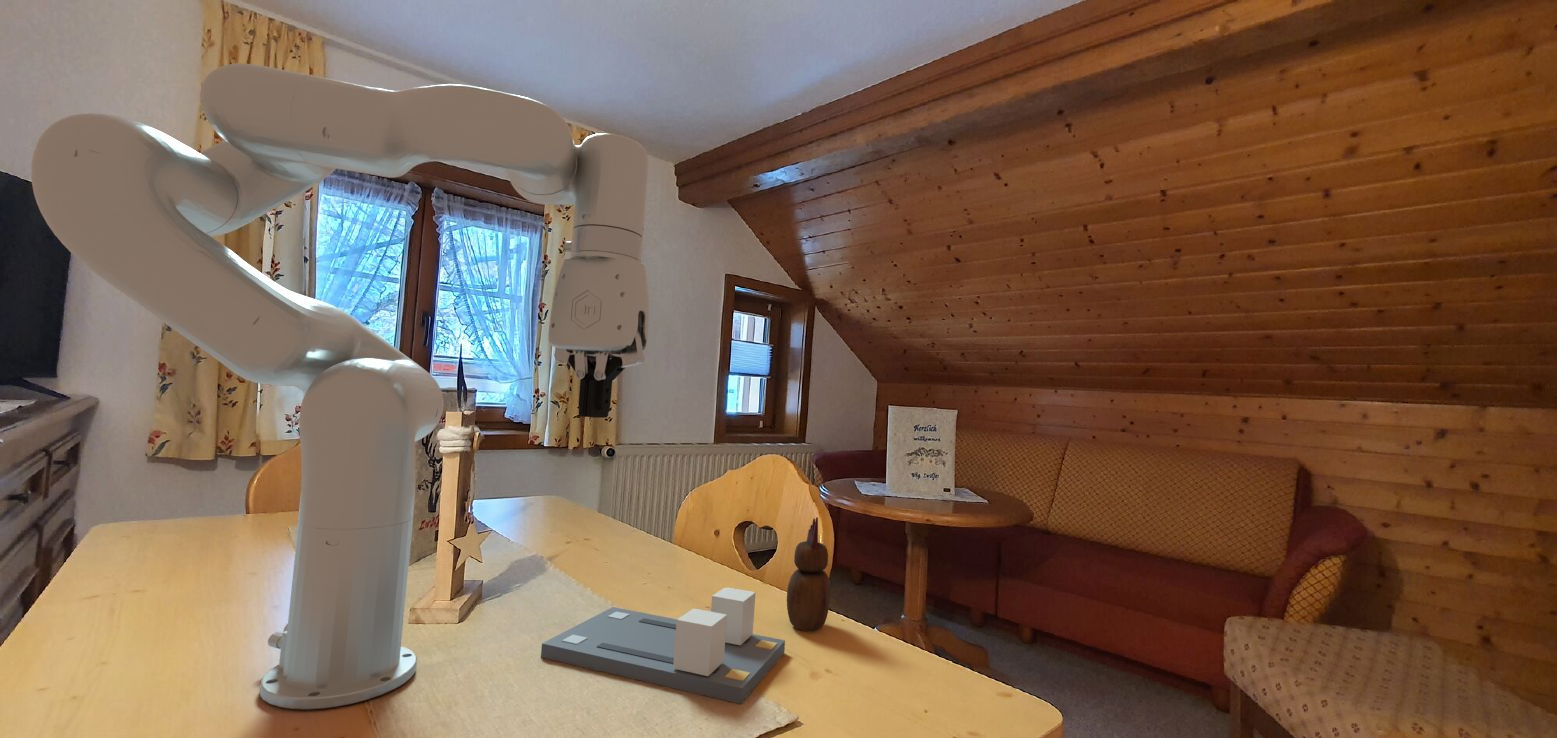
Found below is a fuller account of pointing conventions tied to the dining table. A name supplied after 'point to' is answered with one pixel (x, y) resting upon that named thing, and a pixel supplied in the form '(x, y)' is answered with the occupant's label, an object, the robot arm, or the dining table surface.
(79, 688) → the dining table surface
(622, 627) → the switch panel
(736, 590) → the tab far
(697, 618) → the tab near
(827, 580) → the wooden figurine
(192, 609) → the dining table surface
